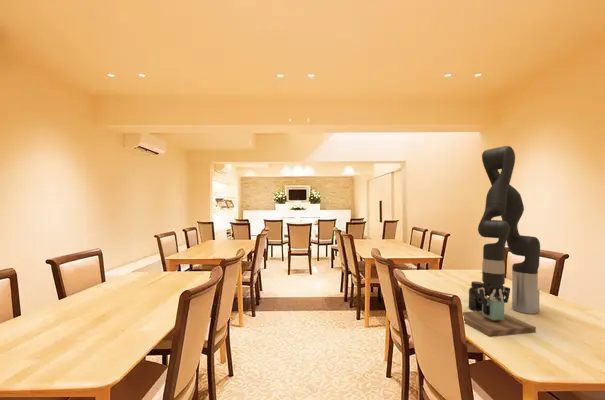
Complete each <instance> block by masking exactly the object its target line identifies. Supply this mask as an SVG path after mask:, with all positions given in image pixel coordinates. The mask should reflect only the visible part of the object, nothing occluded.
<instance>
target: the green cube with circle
mask: <svg viewBox="0 0 605 400" xmlns="http://www.w3.org/2000/svg"><path fill="white" fill-rule="evenodd" d="M486 302H487V300H486ZM489 306H490V315H486V314H484V312H483V304H482V315H483V316H485V317H487V318H489V319H491V320H502V319H504V314H505V303H504V301H500V300H499V299H495V297H493V299H492V301H490V305H489Z"/></svg>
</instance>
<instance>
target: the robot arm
mask: <svg viewBox="0 0 605 400" xmlns="http://www.w3.org/2000/svg"><path fill="white" fill-rule="evenodd" d="M481 162H482V165H483V168H484V170H485V172H486V175H487V177H488V180H489V182H490V184H491V186H490V188H489V190H488V191H487V193H486V197H485V205H484V206H485V207H484V212H483V213H482V214H483V215H482V217H481V219H480V221H479V223H478V227H477V231H478V234H479V235H480V236H481V237H483V238H488V239H489V238H490V239H498V240H497V241H496V242H492V243H485V244H484V245H483V247H482V248H483V249H482V251H483V252H482V254H483V255H482V267H481V268H482V269H481V272H482V273H481V274H482V275H481V279H482V280H481V282H482V283H484V285H483V287H482V288H476V292H477V298H478V302H479V303H482V304H483V312H484V314H486V315H490V306H489V305H490V301H492V299H493V298H495V299H499V300H500V301H504V304H508V303H509V299H510V293H511V299H512V300H511V310H513V311H516V312H519V313H522V314H528V315H529V314H530V315H534V314H535V315H536V314H538V313H539V312H540V290H539V282H538V281H539V267H540V257H541V243H540V240H539V238H538V237H536V236H530V235H521V234H520V232H519V228H518V227H519V226H518V225H519V224H518V223H519V222H520V219H521V218H522V216H523V214H524V211H525V206H524V203H523V198H522V196H521V194H520V192H519V191H518V190H517V189H516V188H515V187H513V186H512V184H510V183H511V180H512V176H513V172H514V168H515V163H516V154H515V150H514V149H513V148H512V146H510V145H504V146H503V145H502V146H498V147H494V148H490V149H485V150H484V151H483V152H482V155H481ZM499 170H500V171H499ZM498 217H501V220H500V219H499V220H498V219H494V218H498ZM506 245H507V248H508V251H509V253H511V255H513V256H521V257H524V260H523V261H522V262H516V263H513V264H512V266H511V270H512V272H511V276H512V277H511V279H512V280H511V287H508V286H504V285H505V283H506V277H505V276H506V270H505V269H506V265H505V247H506ZM486 300H487V302H486Z"/></svg>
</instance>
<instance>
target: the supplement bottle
mask: <svg viewBox="0 0 605 400" xmlns="http://www.w3.org/2000/svg"><path fill="white" fill-rule="evenodd" d="M483 285H484V283H483V281H477V280H476V281H475V280H473V281H471V284H470V286H471V287H469V289H468V308H469V310H471V311H473V312H474V311H482V303H479V302H478V298H477V292H476V288H482V287H483Z"/></svg>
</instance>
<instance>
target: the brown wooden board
mask: <svg viewBox="0 0 605 400" xmlns="http://www.w3.org/2000/svg"><path fill="white" fill-rule="evenodd" d="M463 316H464V321H465V323H464V324H465V325H467V326H469V327H470V328H473V329H475V330H477V331H479V332H480V333H482V334H484V335H486V336H487V337H498V336H499V337H500V336H501V337H502V336H510V335H521V334H532V333H536V331H537V328H536V326H534V325H532V324H530V323H527V322H525V321H523V320H520V319H519V318H516V317H513V316H510V315H508V314H506V313H504V319H502V320H491V319H489V318H487V317H485V316H483V315H482V311H474V310H473V311H463Z"/></svg>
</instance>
